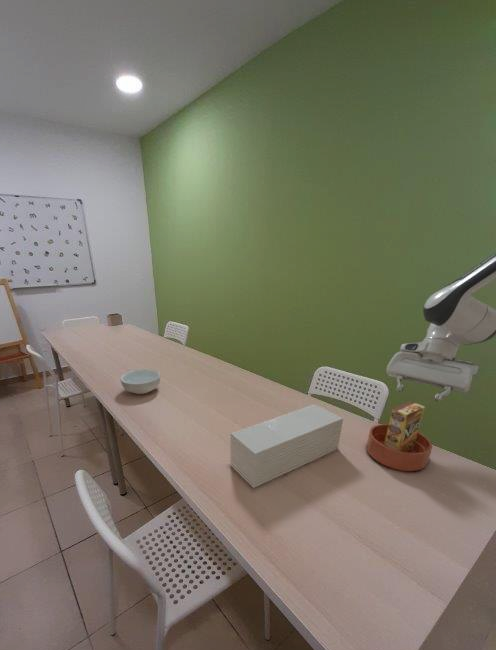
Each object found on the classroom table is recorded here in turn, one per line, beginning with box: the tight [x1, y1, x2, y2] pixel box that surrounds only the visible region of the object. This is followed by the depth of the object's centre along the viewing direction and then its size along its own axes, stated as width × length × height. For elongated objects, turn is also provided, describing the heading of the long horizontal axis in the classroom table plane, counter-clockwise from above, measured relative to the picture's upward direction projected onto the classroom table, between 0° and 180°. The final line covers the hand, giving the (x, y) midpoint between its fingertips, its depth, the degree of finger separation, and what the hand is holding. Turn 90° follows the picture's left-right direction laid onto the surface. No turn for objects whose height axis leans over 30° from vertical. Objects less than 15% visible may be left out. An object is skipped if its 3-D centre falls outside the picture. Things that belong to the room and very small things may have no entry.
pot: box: [365, 423, 433, 472], centre depth 86 cm, size 15×15×6 cm
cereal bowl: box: [120, 368, 161, 395], centre depth 133 cm, size 17×17×7 cm
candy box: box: [384, 401, 426, 453], centre depth 84 cm, size 9×4×15 cm, turn 120°
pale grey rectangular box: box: [229, 403, 344, 489], centre depth 86 cm, size 32×11×11 cm, turn 120°
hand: (417, 395), depth 86 cm, fingers open, 8 cm apart
